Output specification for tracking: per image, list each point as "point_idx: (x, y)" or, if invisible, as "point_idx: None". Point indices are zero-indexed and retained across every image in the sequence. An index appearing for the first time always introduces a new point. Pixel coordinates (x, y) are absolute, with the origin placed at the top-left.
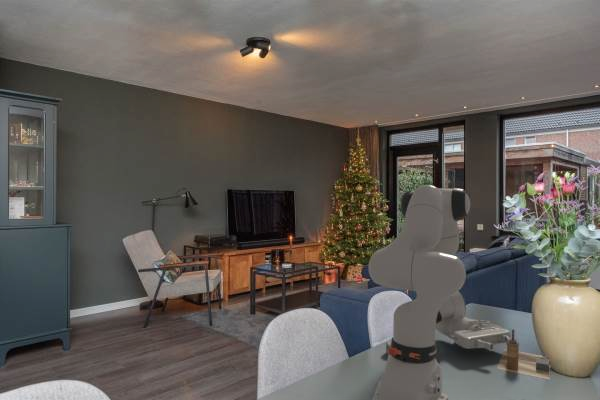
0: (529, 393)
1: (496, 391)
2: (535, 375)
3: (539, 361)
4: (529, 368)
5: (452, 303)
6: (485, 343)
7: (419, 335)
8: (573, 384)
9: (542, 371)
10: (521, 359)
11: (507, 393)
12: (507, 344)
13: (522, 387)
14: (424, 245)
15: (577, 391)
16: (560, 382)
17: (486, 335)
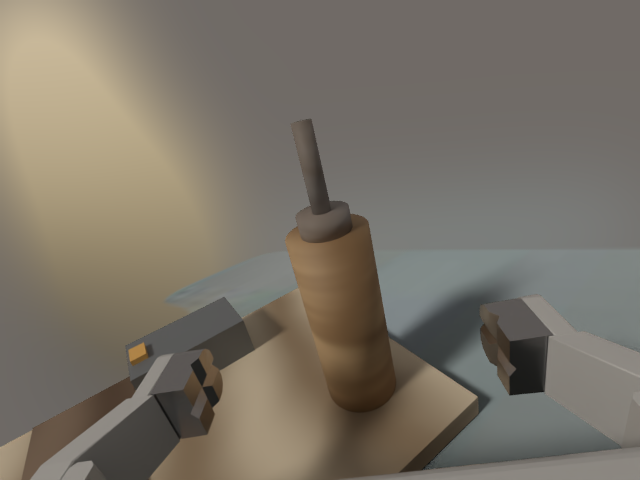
0: (452, 253)
1: (595, 262)
2: None
3: (214, 326)
4: (269, 364)
5: None
6: (572, 336)
7: None
8: (247, 285)
9: (251, 332)
10: None
11: (546, 253)
12: (368, 248)
13: (447, 278)
14: None
15: (288, 260)
16: (268, 295)
17: (434, 473)
